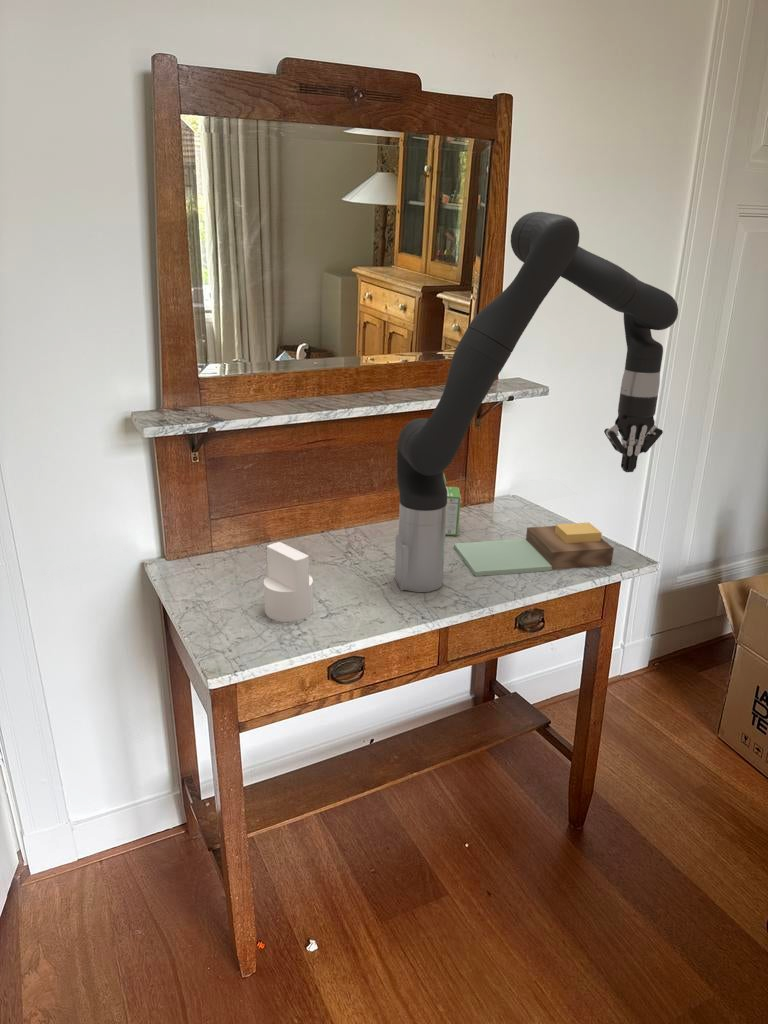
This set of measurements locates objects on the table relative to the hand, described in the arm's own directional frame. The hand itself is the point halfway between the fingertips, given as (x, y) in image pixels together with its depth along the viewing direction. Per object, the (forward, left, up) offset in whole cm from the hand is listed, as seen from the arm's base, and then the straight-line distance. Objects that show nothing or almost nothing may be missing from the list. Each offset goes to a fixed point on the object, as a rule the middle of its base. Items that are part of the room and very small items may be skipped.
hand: (627, 471), depth 163 cm
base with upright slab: (-75, -15, -19) cm, 79 cm away
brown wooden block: (-12, 0, -19) cm, 22 cm away
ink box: (-34, +18, -19) cm, 43 cm away
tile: (-10, 0, -15) cm, 18 cm away
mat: (-28, 0, -19) cm, 33 cm away
